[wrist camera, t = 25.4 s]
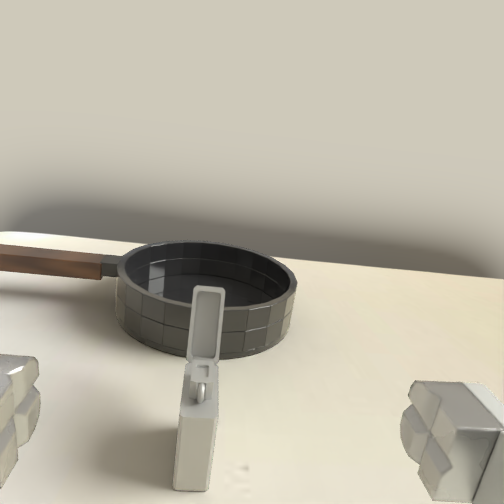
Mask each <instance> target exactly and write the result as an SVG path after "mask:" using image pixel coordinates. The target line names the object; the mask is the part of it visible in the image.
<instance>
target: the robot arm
mask: <svg viewBox="0 0 504 504" xmlns="http://www.w3.org/2000/svg"><path fill="white" fill-rule="evenodd" d="M38 376H39V367H38V361H37V359H36V358H35V357H30V356H18V355H5V354H0V489H2V487H3V485H4V483H5V482H6V480H7V478H8V476H9V475H10V473H11V471H12V469H13V468H14V466H15V464H16V462H17V461H18V450H17V448H19V447H20V446H22V445H24V444H25V443H27V442H28V441H29V439H30V437H31V436H32V434H33V432H34V430H35V427H36V424H37V420H38V417H39V411H40V393H39V391H38V390H37V389H36V388H35V387H34V386H33V384H34V382H35V381H36V379H37V378H38ZM408 397H409V399H410V401H411V403H412V404H411V405H410V406H409V407H408V408H407V409H406V410H405V411H404V412H403V415H402V419H401V423H400V433H401V440H402V443H403V447H404V449H405V451H406V453H407V455H408V456H409V457H410V458H411V459H413V460H414V461H415V462H417V463H418V464H419V465H420V466H419V470H418V475H419V477H420V479H421V480H422V482H423V484H424V486H425V488H426V490H427V491H428V493H429V495H430V497H431V499H432V501H448V502H465V503H472V504H504V404H503V403H502V402H501V401H500V400H499V399H498V398H497V397H496V396H495V395H494V394H493V393H492V392H491V391H490V390H489V389H488V388H487V387H486V386H485V385H483V384H481V383H479V382H438V381H416V380H415V381H414V383H413V384H412V385H411V387H410V391H409V394H408Z"/></svg>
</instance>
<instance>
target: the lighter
mask: <svg viewBox="0 0 504 504" xmlns="http://www.w3.org/2000/svg"><path fill="white" fill-rule="evenodd" d="M224 301H225V290H224V289H223V288H221V287H210V286H199V285H197V286H196V287H195V288H194V290H193V300H192V309H191V319H190V328H189V338H188V347H187V357H186V359H187V361H188V362H189V363H187V364H186V366H185V374H184V382H183V390H182V398H181V406H180V414H179V424H178V434H177V445H176V455H175V465H174V475H173V486H172V487H173V488H174V489H175V490H179V491H206V490H207V489H209V483H210V475H211V468H212V460H213V453H214V445H215V438H216V430H217V423H218V366H217V365H215V364H216V363H218V362H219V353H220V342H221V332H222V322H223V311H224Z"/></svg>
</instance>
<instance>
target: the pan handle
mask: <svg viewBox="0 0 504 504" xmlns="http://www.w3.org/2000/svg"><path fill="white" fill-rule="evenodd" d="M121 258H122V256H115V255H103V254H93V253H83V252H73V251H63V250H53V249H43V248H33V247H23V246H14V245H4V244H0V271H9V272H19V273H30V274H41V275H51V276H62V277H73V278H83V279H94V280H101V279H102V277H103V276H109V277H116V269H117V264H118V263H119V261H120V260H121Z"/></svg>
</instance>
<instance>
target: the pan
mask: <svg viewBox="0 0 504 504" xmlns="http://www.w3.org/2000/svg"><path fill="white" fill-rule="evenodd" d="M197 285H199V286H210V287H221V288H223V289H224V290H225V301H224V311H223V322H222V332H221V342H220V353H219V359H230V358H239V357H244V356H249V355H253V354H257V353H260V352H263V351H265V350H267V349H269V348H271V347H273V346H274V345H276V344H278V343H279V342H280V341H281V340H282V339H283V338H284V337H285V335H286V334H287V332H288V329H289V325H290V320H291V315H292V310H293V304H294V299H295V294H296V288H297V280H296V278H295V276H294V274H293V272H292V271H291V270H290V269H288V268H287V267H286V266H285V265H284V264H282V263H280V262H279V261H277V260H275V259H274V258H272V257H269V256H267V255H264V254H262V253H259V252H257V251H254V250H250V249H247V248H243V247H239V246H234V245H229V244H223V243H217V242H208V241H207V242H206V241H186V240H183V241H182V240H181V241H166V242H159V243H153V244H147V245H144V246H141V247H138V248H135V249H133V250H131V251H129V252H128V253H126V254H125V255H123V256H122V258H121V260H120V261H119V263H118V264H117V269H116V298H115V304H116V317H117V320H118V322H119V324H120V325H121V327H122V328H123V329H124V330H125V331H126V332H127V333H128V334H129V335H131V336H132V337H133V338H135V339H136V340H138V341H140V342H141V343H143V344H146V345H148V346H150V347H152V348H155V349H157V350H160V351H163V352H167V353H170V354H174V355H179V356H184V357H187V347H188V338H189V328H190V319H191V309H192V300H193V290H194V288H195V287H196V286H197Z"/></svg>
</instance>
